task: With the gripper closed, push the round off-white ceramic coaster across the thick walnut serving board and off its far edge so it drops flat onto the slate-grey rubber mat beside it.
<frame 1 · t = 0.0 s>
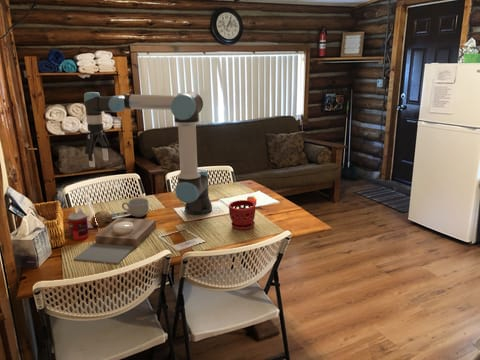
hand: (99, 163, 206), 28 cm above the table, fingers open, 13 cm apart
plant pot: (242, 226, 196), on the table
teacup: (136, 215, 211), on the table
serving board: (127, 235, 186), on the table
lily: (81, 230, 193), on the table
coconut: (101, 223, 201), on the table
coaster: (123, 230, 182), point 4 cm above the table, touching serving board
mat: (105, 253, 168), on the table
photo frame: (181, 241, 182), on the table
canned food: (80, 237, 184), on the table
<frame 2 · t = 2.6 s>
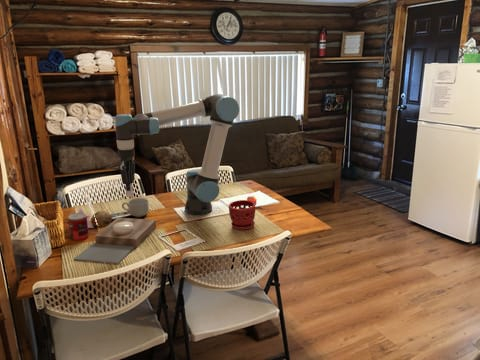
hand: (129, 196, 187), 17 cm above the table, fingers closed
nothing on the table moved.
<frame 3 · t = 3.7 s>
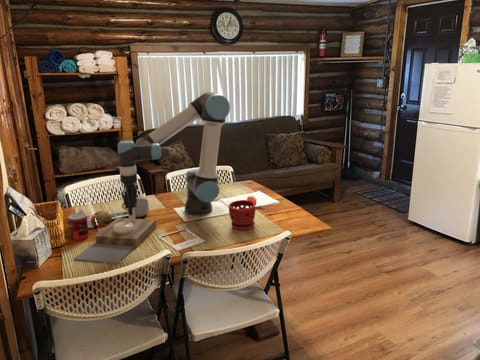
hand: (132, 220, 191), 5 cm above the table, fingers closed
nothing on the table moved.
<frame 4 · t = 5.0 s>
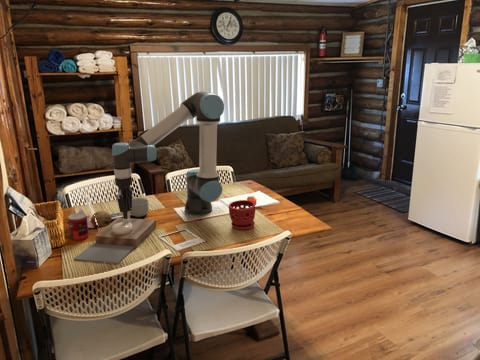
hand: (127, 224, 186), 5 cm above the table, fingers closed
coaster: (122, 230, 182), point 4 cm above the table, touching gripper, serving board
everything else where it was.
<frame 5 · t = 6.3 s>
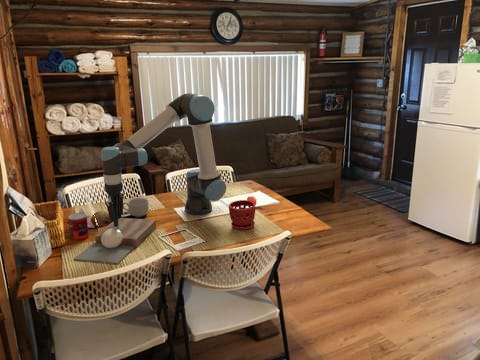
hand: (118, 232, 177), 5 cm above the table, fingers closed
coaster: (113, 239, 174), point 3 cm above the table, tilted 38°, touching gripper
everything else where it was.
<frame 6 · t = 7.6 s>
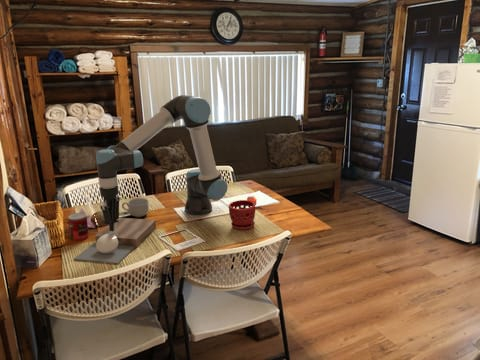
hand: (114, 236, 173), 5 cm above the table, fingers closed
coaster: (108, 245, 170), point 3 cm above the table, tilted 29°, touching gripper, mat
everything else where it was.
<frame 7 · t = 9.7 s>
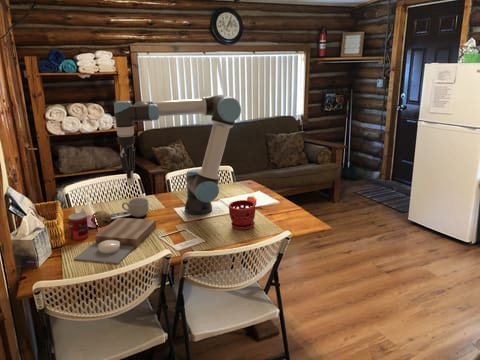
hand: (130, 184, 186), 23 cm above the table, fingers closed
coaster: (109, 249, 171), point 1 cm above the table, touching mat
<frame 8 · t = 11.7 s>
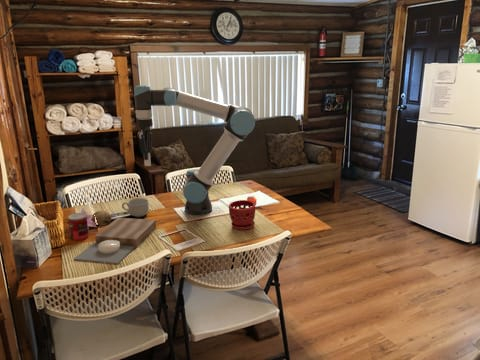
hand: (147, 165, 196), 29 cm above the table, fingers closed
at the end: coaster point 0.6 cm above the table; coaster inside the target area on the mat (2.9 cm from its centre), point 0.6 cm above the mat's base; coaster tilted 1° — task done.
